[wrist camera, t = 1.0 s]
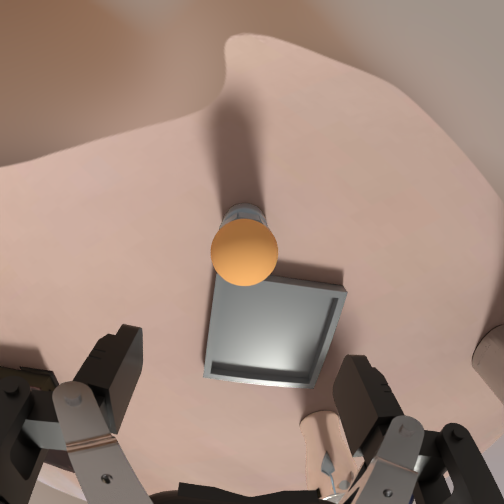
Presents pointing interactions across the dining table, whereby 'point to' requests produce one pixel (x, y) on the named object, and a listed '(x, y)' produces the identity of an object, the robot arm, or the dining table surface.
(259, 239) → the ball
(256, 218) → the cup
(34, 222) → the dining table surface
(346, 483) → the beer glass
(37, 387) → the diary
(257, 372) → the tray
